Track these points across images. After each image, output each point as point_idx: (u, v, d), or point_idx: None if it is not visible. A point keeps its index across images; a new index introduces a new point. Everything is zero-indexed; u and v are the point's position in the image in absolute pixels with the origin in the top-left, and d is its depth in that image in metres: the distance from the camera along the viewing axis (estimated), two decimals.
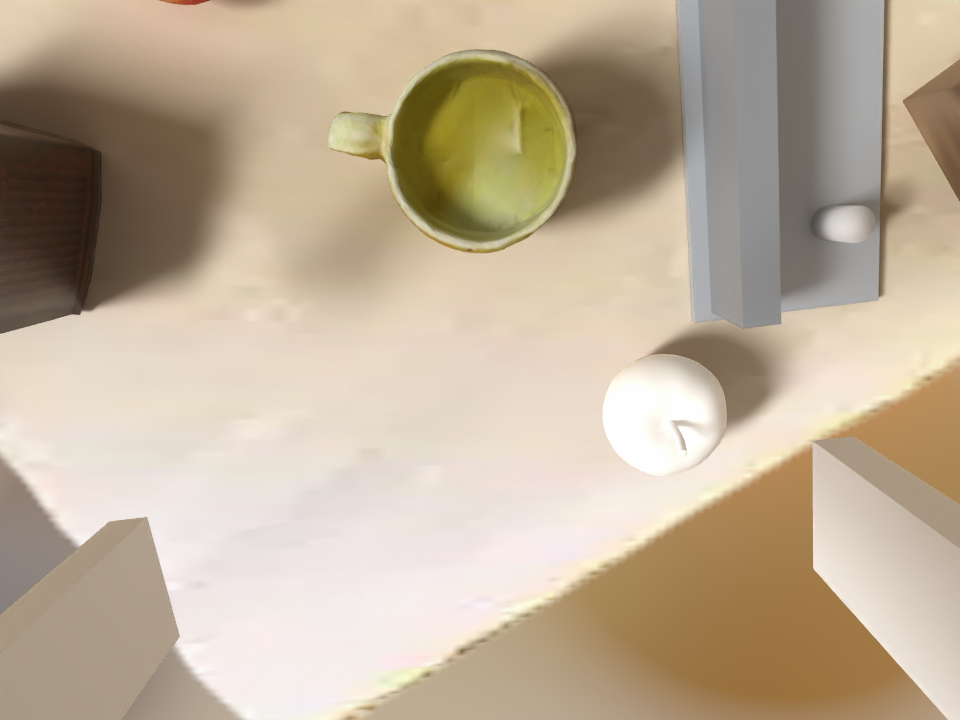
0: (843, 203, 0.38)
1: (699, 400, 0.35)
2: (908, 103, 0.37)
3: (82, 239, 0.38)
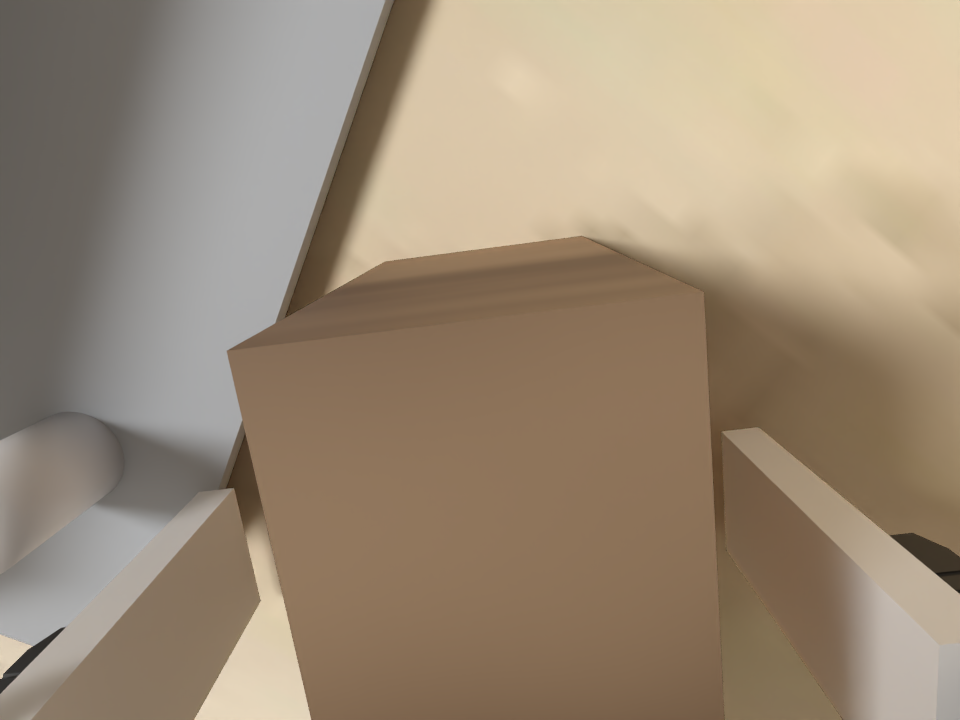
0: (129, 431, 0.13)
1: None
2: None
3: None
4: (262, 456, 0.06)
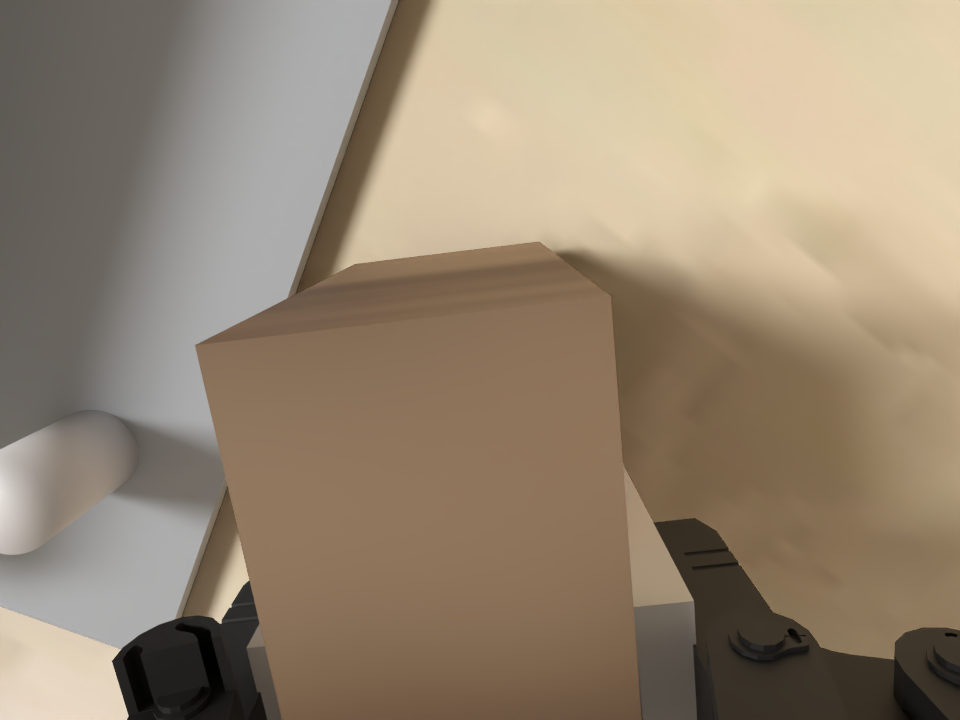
0: (143, 427, 0.15)
1: None
2: None
3: None
4: (227, 438, 0.06)
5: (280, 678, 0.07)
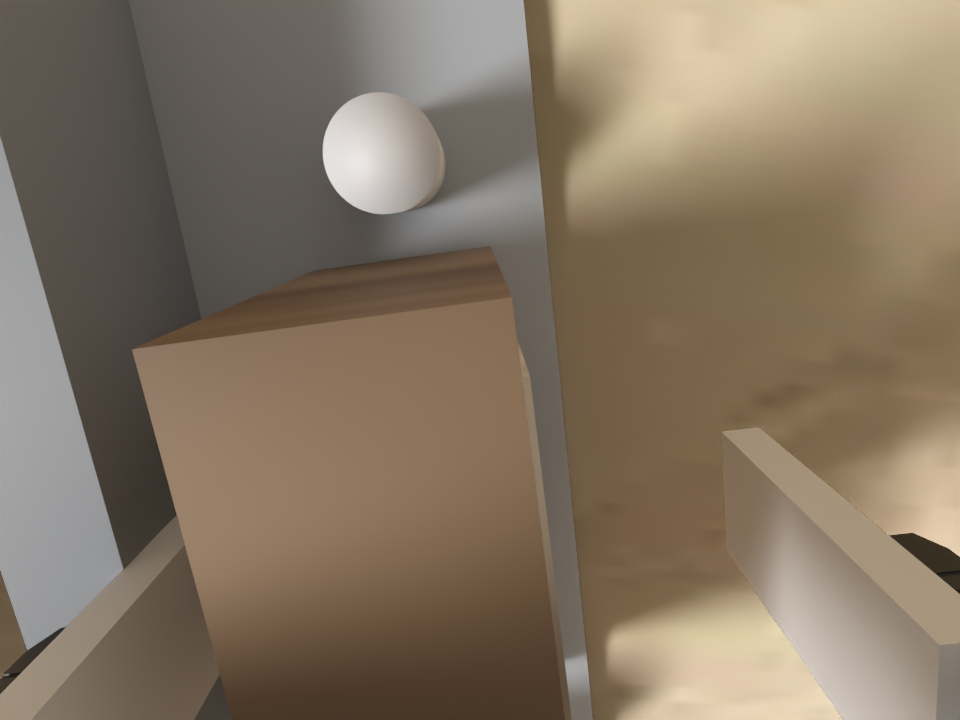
0: None
1: None
2: None
3: None
4: (165, 435, 0.07)
5: (223, 658, 0.08)
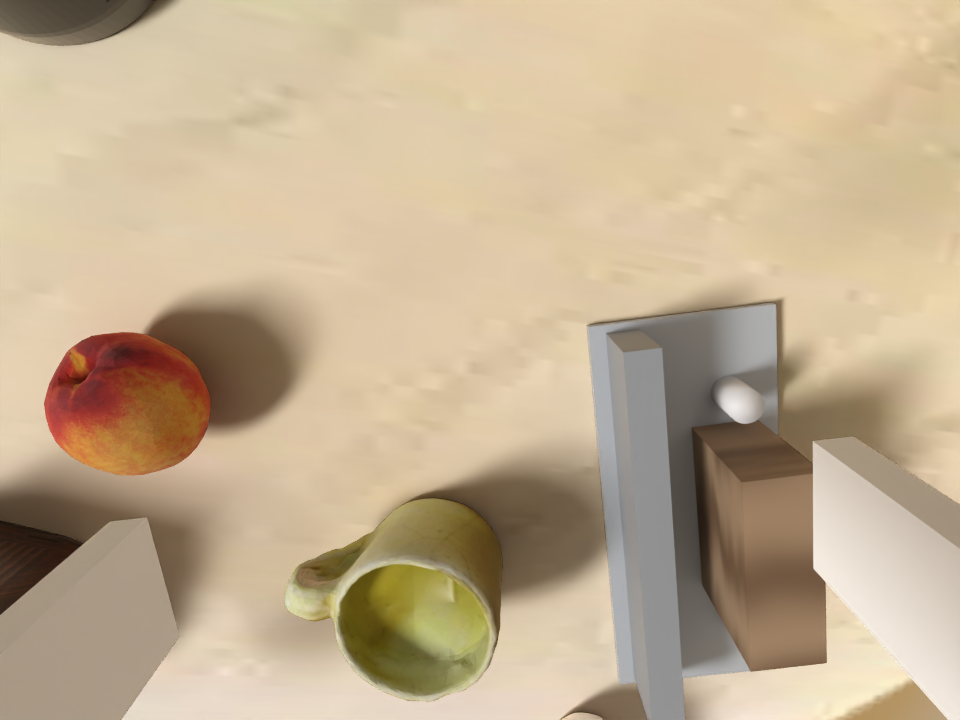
0: None
1: None
2: (694, 433, 0.39)
3: None
4: (744, 500, 0.32)
5: (746, 550, 0.33)
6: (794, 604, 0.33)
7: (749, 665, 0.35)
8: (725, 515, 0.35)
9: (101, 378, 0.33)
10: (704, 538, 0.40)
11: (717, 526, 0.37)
